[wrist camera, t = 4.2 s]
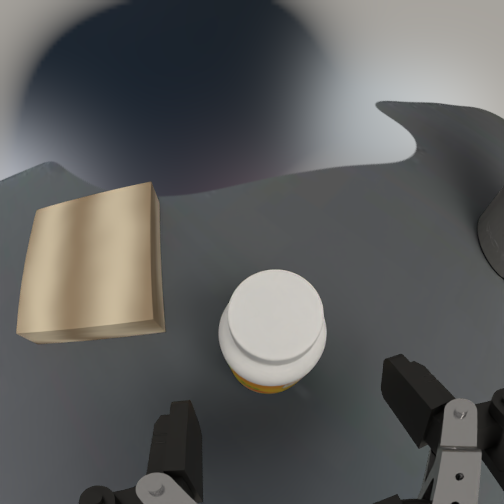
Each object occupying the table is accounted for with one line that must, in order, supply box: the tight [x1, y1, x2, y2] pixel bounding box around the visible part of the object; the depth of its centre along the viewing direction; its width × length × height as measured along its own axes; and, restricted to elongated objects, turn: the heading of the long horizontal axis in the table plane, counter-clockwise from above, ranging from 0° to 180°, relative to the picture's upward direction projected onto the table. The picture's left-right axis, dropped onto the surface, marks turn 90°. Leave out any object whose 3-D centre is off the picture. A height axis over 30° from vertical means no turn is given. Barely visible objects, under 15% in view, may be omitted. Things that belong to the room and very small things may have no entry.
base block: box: [16, 182, 166, 344], centre depth 23 cm, size 12×12×3 cm
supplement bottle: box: [219, 269, 327, 394], centre depth 17 cm, size 5×5×10 cm
